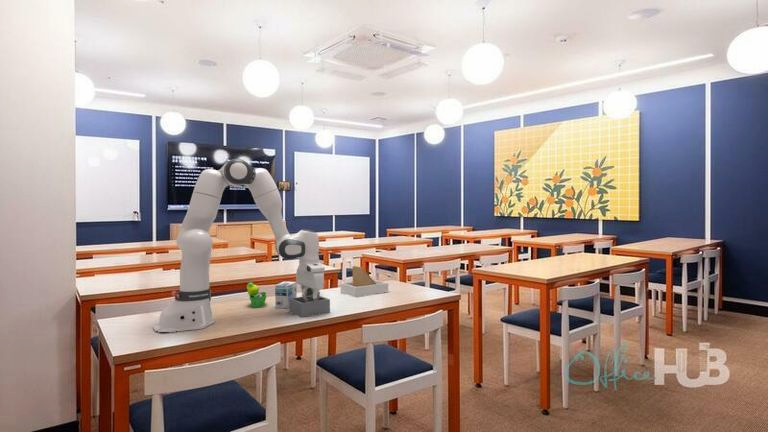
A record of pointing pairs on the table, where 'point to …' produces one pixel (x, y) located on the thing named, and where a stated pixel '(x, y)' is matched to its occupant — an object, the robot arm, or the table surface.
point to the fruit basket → (256, 295)
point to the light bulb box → (285, 293)
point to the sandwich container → (361, 277)
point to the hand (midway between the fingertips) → (309, 296)
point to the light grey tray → (364, 288)
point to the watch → (312, 291)
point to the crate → (309, 306)
